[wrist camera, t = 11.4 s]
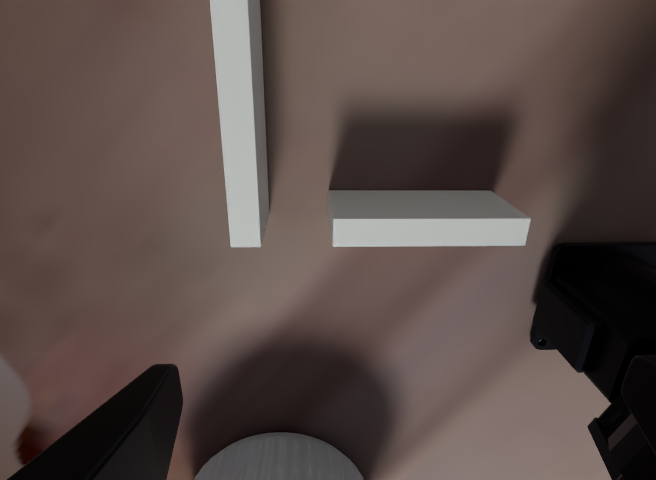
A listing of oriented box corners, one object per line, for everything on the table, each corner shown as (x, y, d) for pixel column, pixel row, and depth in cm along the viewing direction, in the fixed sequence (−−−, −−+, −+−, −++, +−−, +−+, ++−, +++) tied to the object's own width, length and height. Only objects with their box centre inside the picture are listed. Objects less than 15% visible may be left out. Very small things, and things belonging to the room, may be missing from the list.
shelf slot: (539, -90, 16) (608, -135, 12) (486, 213, 21) (525, 245, 17) (223, -101, 15) (196, -151, 12) (244, 213, 20) (230, 247, 17)
